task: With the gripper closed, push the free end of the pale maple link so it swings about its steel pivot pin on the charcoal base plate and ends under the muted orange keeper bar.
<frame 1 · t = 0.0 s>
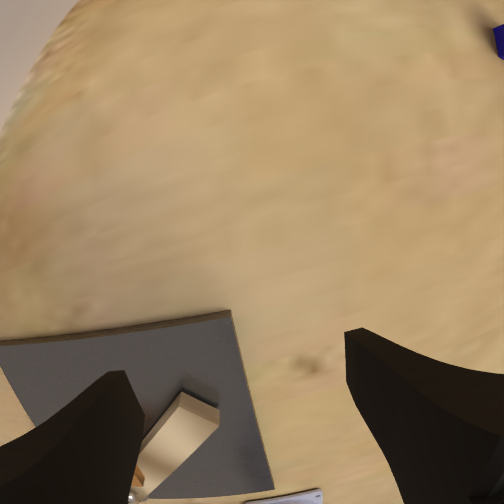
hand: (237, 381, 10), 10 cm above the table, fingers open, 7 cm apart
base plate: (135, 430, 22), on the table
link: (153, 460, 20), point 2 cm above the table, hinge at -45.0°
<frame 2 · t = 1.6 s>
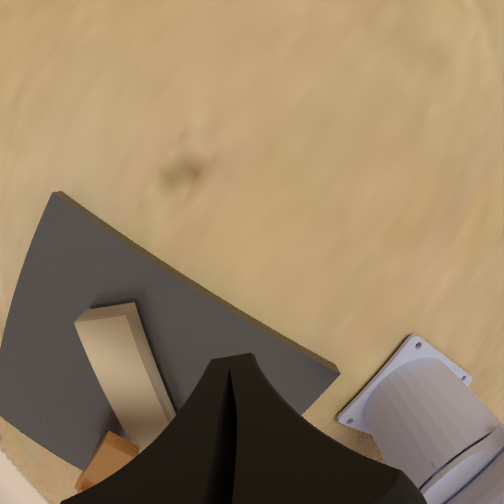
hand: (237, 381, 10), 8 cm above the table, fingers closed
base plate: (126, 401, 18), on the table
link: (150, 422, 17), point 2 cm above the table, hinge at -45.0°
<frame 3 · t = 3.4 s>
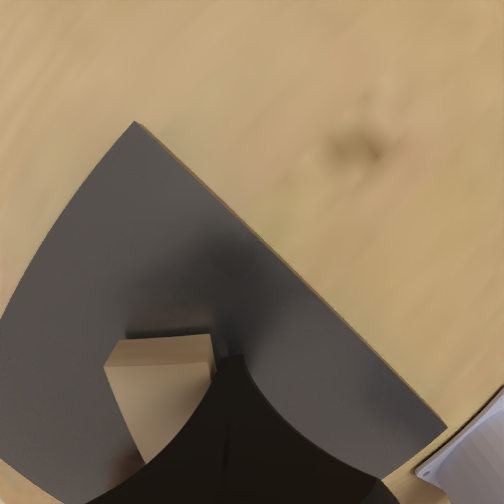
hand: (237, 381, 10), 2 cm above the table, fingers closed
base plate: (172, 454, 12), on the table
link: (204, 491, 11), point 2 cm above the table, hinge at -39.5°, touching gripper
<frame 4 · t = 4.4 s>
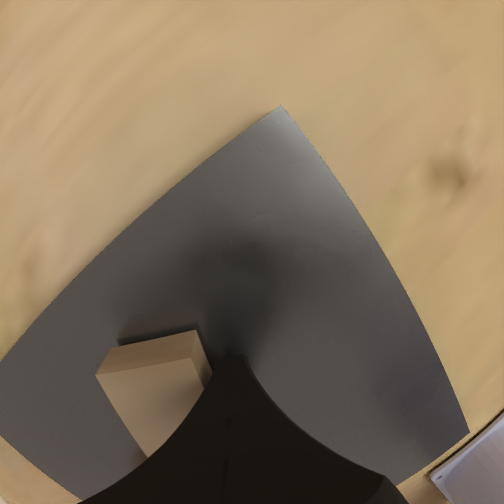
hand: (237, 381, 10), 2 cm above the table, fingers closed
base plate: (222, 449, 12), on the table
link: (223, 490, 11), point 2 cm above the table, hinge at -23.1°, touching gripper
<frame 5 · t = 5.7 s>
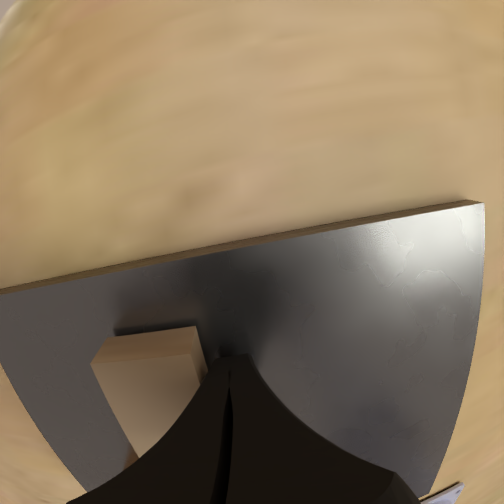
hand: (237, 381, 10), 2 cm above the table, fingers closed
base plate: (260, 448, 13), on the table
link: (206, 489, 10), point 2 cm above the table, hinge at -0.7°, touching gripper
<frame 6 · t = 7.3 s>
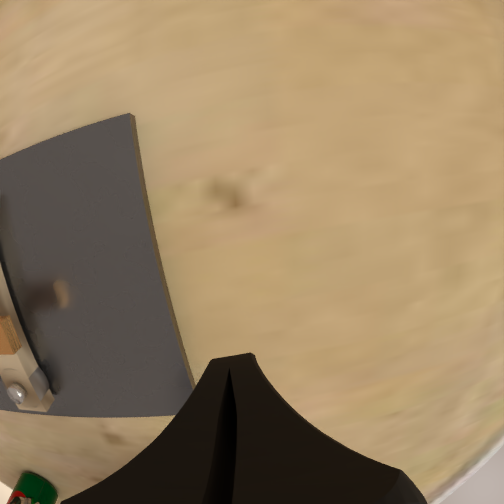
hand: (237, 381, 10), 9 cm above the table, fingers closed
base plate: (33, 299, 18), on the table
soda can: (41, 482, 23), on the table
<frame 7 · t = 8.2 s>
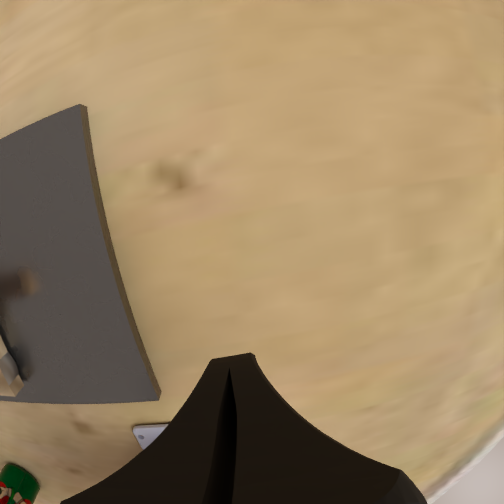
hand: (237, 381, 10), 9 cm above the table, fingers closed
base plate: (2, 286, 18), on the table
soda can: (23, 474, 23), on the table
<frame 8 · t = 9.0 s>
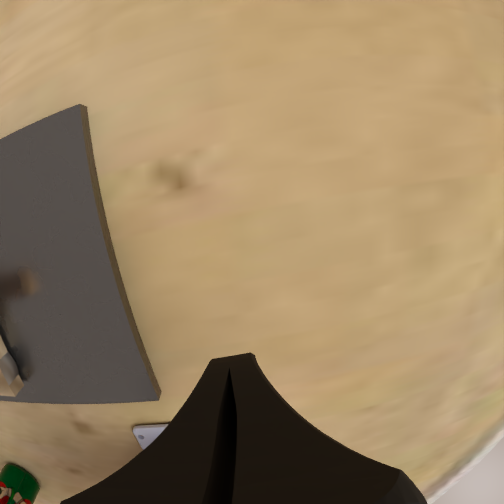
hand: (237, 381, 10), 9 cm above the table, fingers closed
base plate: (2, 286, 18), on the table
soda can: (23, 474, 23), on the table
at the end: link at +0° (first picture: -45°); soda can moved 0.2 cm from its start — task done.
